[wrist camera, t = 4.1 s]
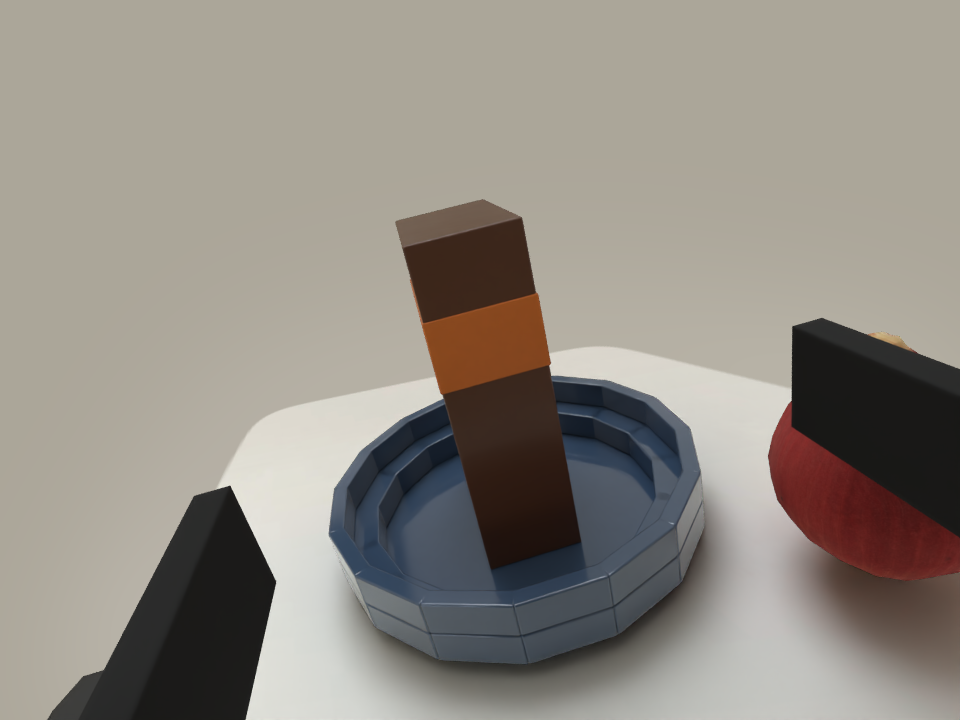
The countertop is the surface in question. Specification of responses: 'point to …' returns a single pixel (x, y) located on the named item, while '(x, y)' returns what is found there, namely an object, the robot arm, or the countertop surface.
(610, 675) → the countertop surface
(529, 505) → the snack carton
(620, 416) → the bowl
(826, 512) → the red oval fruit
